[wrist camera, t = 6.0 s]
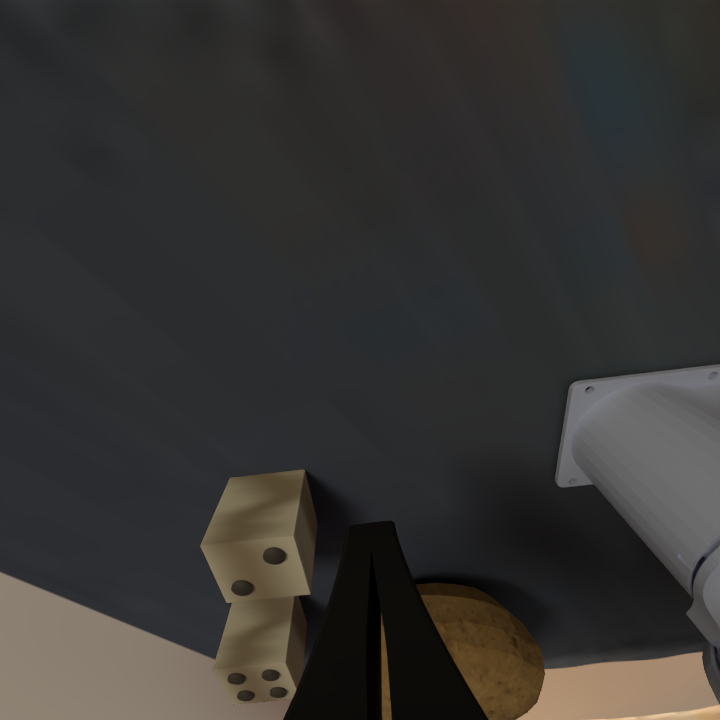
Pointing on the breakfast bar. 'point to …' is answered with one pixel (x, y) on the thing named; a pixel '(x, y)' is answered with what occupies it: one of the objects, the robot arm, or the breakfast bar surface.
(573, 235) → the breakfast bar surface
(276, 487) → the pip block two
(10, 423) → the breakfast bar surface
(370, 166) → the breakfast bar surface
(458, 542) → the breakfast bar surface
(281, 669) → the pip block four
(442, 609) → the potato
